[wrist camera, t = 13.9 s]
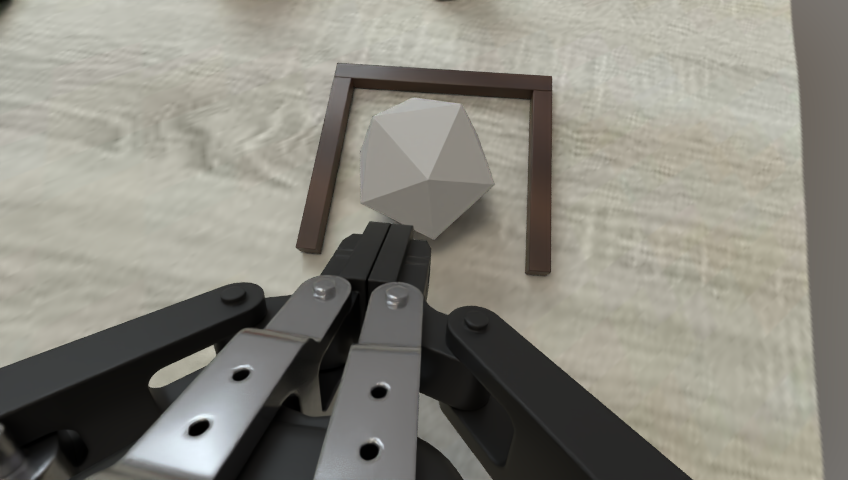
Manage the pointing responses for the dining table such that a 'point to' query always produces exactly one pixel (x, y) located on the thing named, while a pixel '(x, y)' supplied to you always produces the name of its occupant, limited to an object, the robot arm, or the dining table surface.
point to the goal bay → (445, 83)
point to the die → (423, 164)
